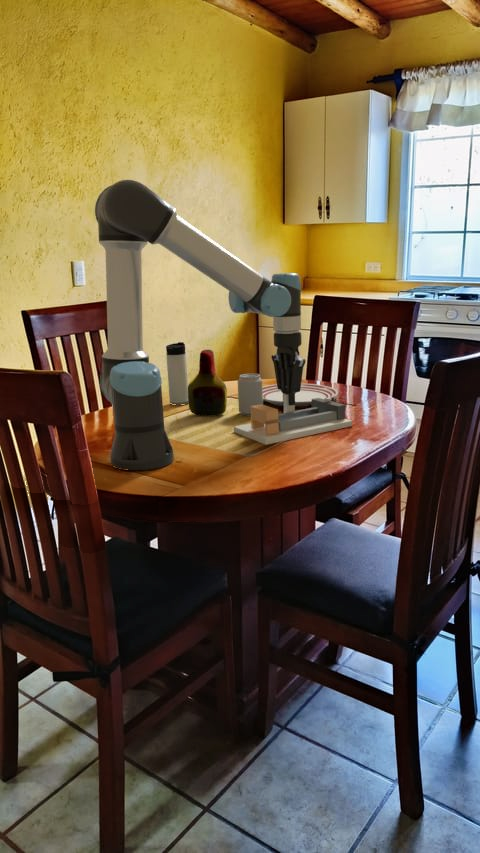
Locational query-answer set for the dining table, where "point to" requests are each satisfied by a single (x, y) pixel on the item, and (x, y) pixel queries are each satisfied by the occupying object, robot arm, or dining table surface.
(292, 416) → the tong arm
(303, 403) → the dinner plate
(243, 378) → the can
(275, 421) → the tan wooden block
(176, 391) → the travel mug
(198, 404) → the bottle
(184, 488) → the dining table surface
